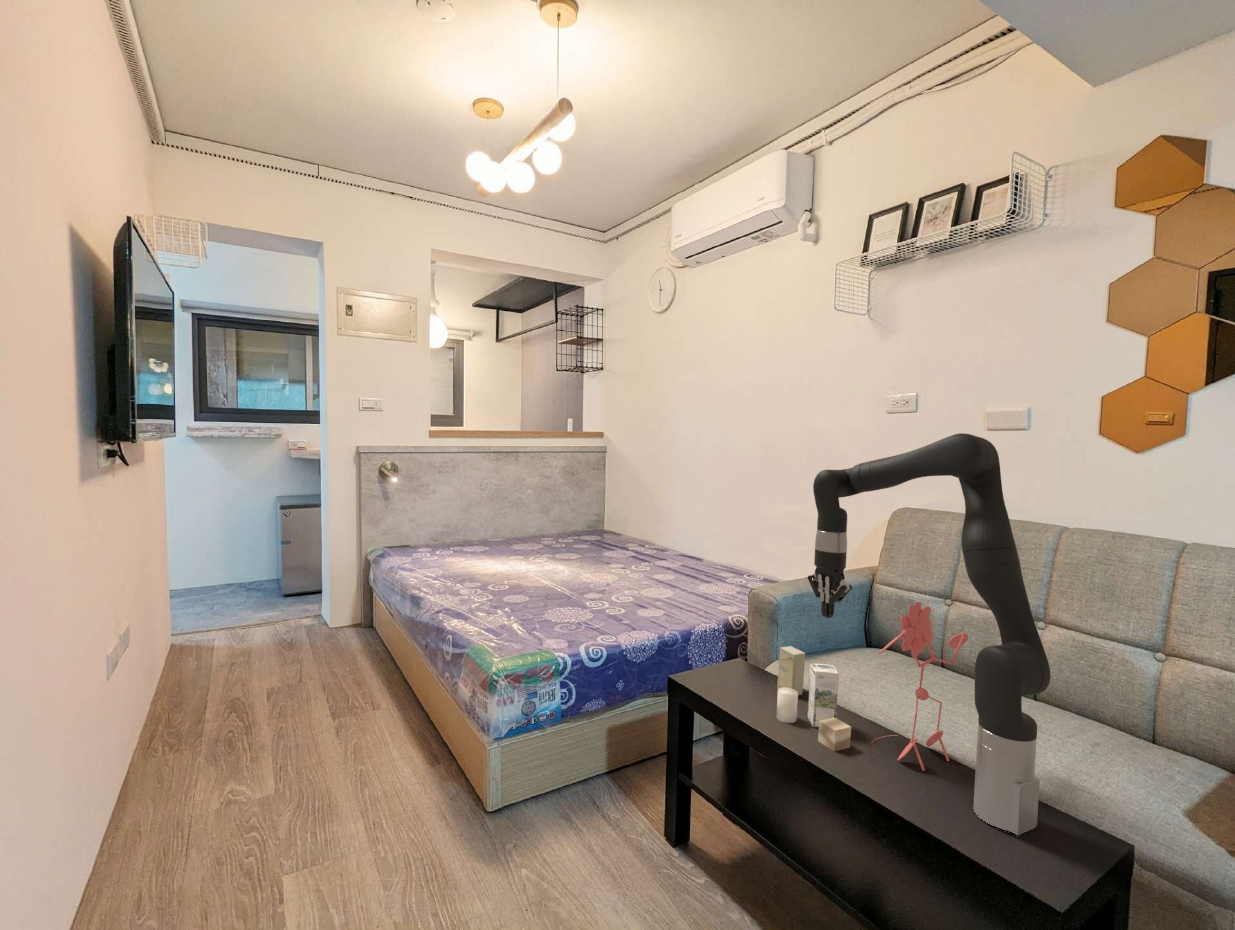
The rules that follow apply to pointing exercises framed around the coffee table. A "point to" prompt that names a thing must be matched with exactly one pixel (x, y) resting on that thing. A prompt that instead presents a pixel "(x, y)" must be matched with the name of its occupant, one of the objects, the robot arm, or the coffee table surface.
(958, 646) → the pink stick figure
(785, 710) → the ceramic cylinder
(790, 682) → the skincare box
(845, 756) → the coffee table surface
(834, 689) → the syrup box
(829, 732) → the birch block
